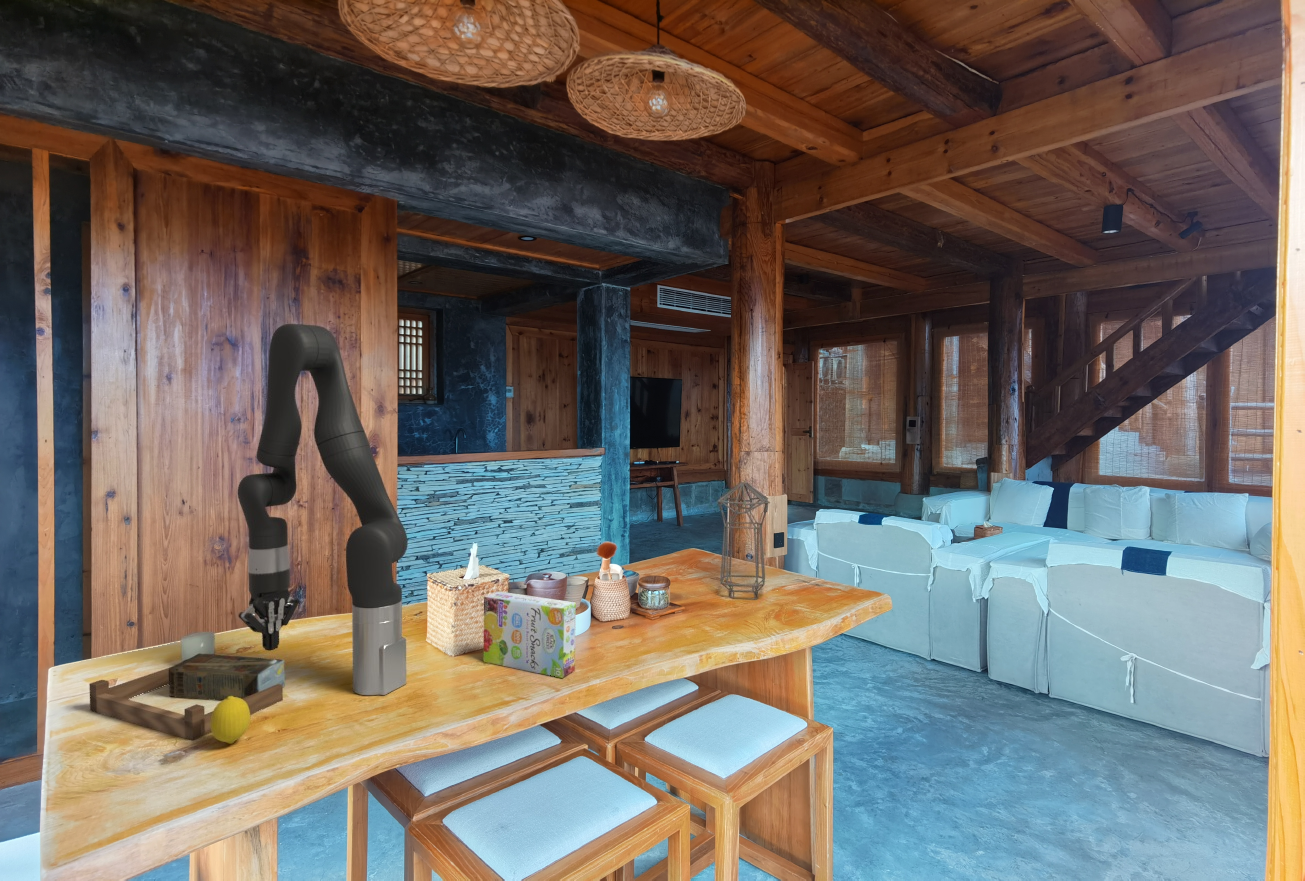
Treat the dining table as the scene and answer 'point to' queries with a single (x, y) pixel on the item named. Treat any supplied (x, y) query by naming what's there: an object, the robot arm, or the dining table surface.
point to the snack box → (530, 633)
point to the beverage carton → (224, 676)
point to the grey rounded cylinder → (197, 644)
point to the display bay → (160, 719)
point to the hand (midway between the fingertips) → (271, 649)
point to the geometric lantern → (763, 501)
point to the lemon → (230, 719)
